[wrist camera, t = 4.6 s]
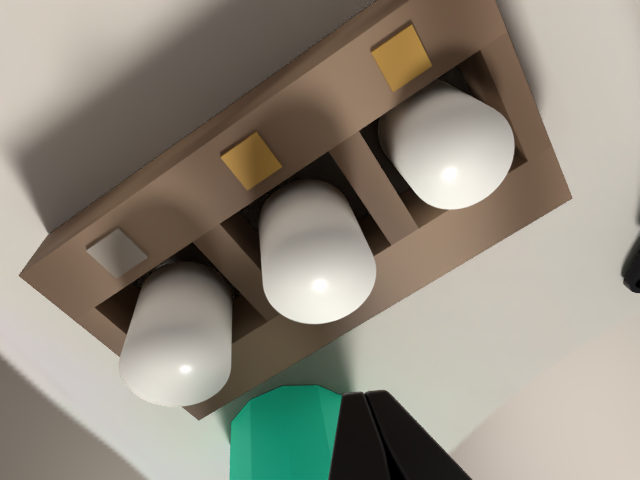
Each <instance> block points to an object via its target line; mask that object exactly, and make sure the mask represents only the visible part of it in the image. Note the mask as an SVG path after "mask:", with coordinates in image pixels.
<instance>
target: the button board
mask: <svg viewBox="0 0 640 480" xmlns="http://www.w3.org/2000/svg"><path fill="white" fill-rule="evenodd" d="M456 65H458V66H459V68H460V70H461V72H462V74H463V77H464V79H465V81H466V83H467V85H468V87H469V90H470V92H471V94H472V96H473V97H474V98H475V99H477V100H479V101H481V102H483V103H484V104H486V105H488V106H490V107H492V108H494V109H495V110H497V111H498V112H499V113H500V114H502V115H503V116H504V117H505V119H506V120H507V121H508V123H509V125H510V127H511V129H512V132H513V136H514V146H515V148H514V156H513V161H512V164H511V166H510V169H509V171H508V173H507V175H506V177H505V178H504V180H503V181H502V182H501V184H500V185H499V186H498V187H497V188H496V189H495V190H494V191H493V192H492V193H491V194H490V195H489V196H487V197H486V198H485V199H483V200H482V201H480V202H478V203H476V204H474V205H471V206H469V207H465V208H461V209H451V210H449V209H441V208H436V207H434V206H431V205H429V204H427V203H426V202H424V201H423V200H422V199H421V198H420V197H419V196H418V195H417V194H416V193H415V192H414V190H413V189H412V188H409V189H408V190H406V191H405V192H403V193H401V194H400V195H398V194H397V192H396V191H395V189H394V187H393V186H392V184H391V183H390V181H389V179H388V178H387V176H386V174H385V173H384V171H383V170H382V168H381V166H380V165H379V163H378V161H377V160H376V158H375V157H374V155H373V153H372V152H371V150H370V149H369V147H368V145H367V144H366V142H365V140H364V139H363V137H362V136H361V134H360V132H359V130H361V129H362V128H364V127H365V126H367V125H368V124H370V123H371V122H373V121H374V120H376V119H377V118H379V117H380V116H382V115H383V114H385V113H386V112H388V111H389V110H391V109H392V108H394V107H395V106H397V105H398V104H400V103H401V102H403V101H404V100H406V99H407V98H409V97H410V96H412V95H413V94H415V93H416V92H418V91H419V90H421V89H422V88H424V87H425V86H427V85H428V84H430V83H431V82H433V81H434V80H436V79H437V78H439V77H440V76H442V75H443V74H445V73H446V72H448V71H449V70H451V69H452V68H454V67H455V66H456ZM328 151H329V153H330V154H331V156H332V157H333V159H334V160H335V162H336V163H337V165H338V166H339V168H340V169H341V171H342V172H343V174H344V175H345V177H346V178H347V180H348V181H349V183H350V184H351V186H352V187H353V189H354V190H355V192H356V193H357V195H358V196H359V198H360V199H361V201H362V202H363V204H364V205H365V207H366V208H367V210H368V211H369V213H370V214H368V215H367V216H365V217H364V218H362V219H360V220H359V221H357V222H358V224H359V226H360V228H361V231H362V233H363V235H364V237H365V239H366V241H367V243H368V246H369V248H370V250H371V252H372V254H373V257H374V259H375V264H376V279H375V283H374V286H373V289H372V291H371V293H370V294H369V296H368V297H367V299H366V300H365V301H364V302H363V304H362V305H361V306H360V307H358V308H357V309H356V310H355V311H353V312H352V313H350V314H349V315H347V316H345V317H343V318H341V319H338V320H336V321H332V322H328V323H322V324H307V323H301V322H297V321H294V320H291V319H289V318H287V317H285V316H283V315H282V314H280V313H279V312H278V311H277V310H275V309H274V308H273V306H272V305H271V304H270V303H269V301H268V299H267V297H266V295H265V292H264V288H263V280H262V266H261V252H260V239H259V233H258V232H257V231H256V230H255V229H254V228H253V226H252V225H251V224H250V223H249V222H248V220H247V219H246V218H245V217H244V216H243V214H242V213H241V212H240V210H241V209H243V208H244V207H246V206H247V205H249V204H250V203H252V202H253V201H255V200H256V199H257V198H259V197H260V196H262V195H263V194H265V193H266V192H268V191H269V190H271V189H272V188H274V187H275V186H277V185H278V184H280V183H281V182H283V181H284V180H286V179H287V178H289V177H290V176H292V175H293V174H295V173H296V172H298V171H299V170H301V169H302V168H304V167H305V166H307V165H308V164H310V163H311V162H313V161H314V160H316V159H317V158H319V157H320V156H322V155H323V154H325V153H326V152H328ZM571 199H572V196H571V193H570V191H569V188H568V185H567V183H566V180H565V178H564V175H563V173H562V170H561V168H560V165H559V162H558V160H557V157H556V155H555V152H554V150H553V147H552V144H551V142H550V139H549V137H548V134H547V132H546V129H545V127H544V124H543V121H542V119H541V116H540V114H539V111H538V109H537V106H536V104H535V101H534V98H533V96H532V93H531V91H530V88H529V86H528V83H527V81H526V78H525V75H524V73H523V70H522V68H521V65H520V63H519V60H518V57H517V55H516V52H515V50H514V47H513V45H512V42H511V40H510V37H509V34H508V32H507V29H506V27H505V24H504V22H503V19H502V17H501V14H500V11H499V9H498V6H497V4H496V1H495V0H377V1H375V2H374V3H373V4H371V5H370V6H368V7H367V8H366V9H364V10H363V11H361V12H360V13H359V14H357V15H356V16H354V17H353V18H352V19H350V20H349V21H347V22H346V23H345V24H343V25H342V26H340V27H339V28H338V29H336V30H335V31H333V32H332V33H330V34H329V35H328V36H326V37H325V38H323V39H322V40H321V41H319V42H318V43H316V44H315V45H314V46H312V47H311V48H309V49H308V50H307V51H305V52H304V53H302V54H301V55H300V56H298V57H297V58H295V59H294V60H293V61H291V62H290V63H288V64H287V65H286V66H284V67H283V68H281V69H280V70H279V71H277V72H276V73H274V74H273V75H272V76H270V77H269V78H267V79H266V80H265V81H263V82H262V83H260V84H259V85H258V86H256V87H255V88H253V89H252V90H251V91H249V92H248V93H246V94H245V95H244V96H242V97H241V98H239V99H238V100H237V101H235V102H234V103H232V104H231V105H230V106H228V107H227V108H225V109H224V110H222V111H221V112H220V113H218V114H217V115H215V116H214V117H213V118H211V119H210V120H208V121H207V122H206V123H204V124H203V125H201V126H200V127H199V128H197V129H196V130H194V131H193V132H192V133H190V134H189V135H187V136H186V137H185V138H183V139H182V140H180V141H179V142H178V143H176V144H175V145H173V146H172V147H171V148H169V149H168V150H166V151H165V152H164V153H162V154H161V155H159V156H158V157H157V158H155V159H154V160H152V161H151V162H150V163H148V164H147V165H145V166H144V167H143V168H141V169H140V170H138V171H137V172H136V173H134V174H133V175H131V176H130V177H129V178H127V179H126V180H124V181H123V182H121V183H120V184H119V185H117V186H116V187H114V188H113V189H112V190H110V191H109V192H107V193H106V194H105V195H103V196H102V197H100V198H99V199H98V200H96V201H95V202H93V203H92V204H91V205H89V206H88V207H86V208H85V209H84V210H82V211H81V212H79V213H78V214H77V215H75V216H74V217H72V218H71V219H70V220H68V221H67V222H65V223H64V224H63V225H61V226H60V227H58V228H57V229H56V230H54V231H53V232H51V233H50V234H49V235H48V236H47V237H46V238H45V240H44V241H43V242H42V244H41V245H40V247H39V248H38V249H37V251H36V252H35V254H34V255H33V256H32V258H31V259H30V260H29V262H28V263H27V265H26V266H25V267H24V269H23V270H22V272H21V273H20V274H19V276H20V277H21V278H22V279H23V280H25V281H26V282H27V283H28V284H30V285H31V286H32V287H33V288H35V289H36V290H37V291H38V292H40V293H41V294H42V295H43V296H45V297H46V298H47V299H48V300H50V301H51V302H52V303H53V304H55V305H56V306H57V307H58V308H59V309H61V310H62V311H63V312H64V313H66V314H67V315H68V316H69V317H71V318H72V319H73V320H74V321H76V322H77V323H78V324H79V325H81V326H82V327H83V328H84V329H86V330H87V331H88V332H89V333H91V334H92V335H93V336H94V337H96V338H97V339H98V340H99V341H101V342H102V343H103V344H104V345H106V346H107V347H108V348H109V349H111V350H112V351H113V352H114V353H115V354H117V355H118V356H119V357H120V355H121V352H122V349H123V346H124V342H125V339H126V336H127V333H128V330H129V326H130V323H131V320H132V317H133V313H134V310H135V307H136V304H137V300H138V297H139V294H140V291H141V290H139V289H138V288H137V287H136V286H135V285H134V284H133V283H132V282H133V281H135V280H136V279H138V278H139V277H141V276H142V275H144V274H145V273H147V272H148V271H150V270H151V269H153V268H154V267H156V266H157V265H159V264H160V263H162V262H163V261H165V260H166V259H168V258H169V257H171V256H172V255H174V254H175V253H177V252H178V251H180V250H181V249H183V248H184V247H186V246H187V245H189V244H190V243H192V242H193V243H194V244H195V245H196V246H197V248H198V249H199V250H200V251H201V252H202V253H203V254H204V255H205V256H206V257H207V258H208V259H209V260H210V261H211V262H212V263H213V264H214V266H215V267H216V268H217V269H218V270H219V271H220V272H221V273H222V274H223V275H224V276H225V277H226V278H227V279H228V280H229V281H230V282H231V284H232V285H233V286H234V287H235V288H236V289H237V290H238V291H239V292H240V293H241V294H242V295H241V296H239V297H237V298H236V299H234V300H233V301H232V347H231V372H230V376H229V378H228V380H227V382H226V384H225V385H224V386H223V388H222V389H221V390H220V391H219V392H218V393H216V394H215V395H214V396H212V397H211V398H209V399H207V400H205V401H203V402H200V403H197V404H194V405H189V406H182V407H183V408H184V409H185V410H186V411H188V412H189V413H190V414H191V415H193V416H194V417H195V418H196V419H198V420H201V419H202V418H204V417H206V416H207V415H209V414H211V413H212V412H214V411H216V410H217V409H219V408H221V407H222V406H224V405H226V404H227V403H229V402H231V401H232V400H234V399H236V398H238V397H239V396H241V395H243V394H244V393H246V392H248V391H249V390H251V389H253V388H254V387H256V386H258V385H259V384H261V383H263V382H264V381H266V380H268V379H270V378H271V377H273V376H275V375H276V374H278V373H280V372H281V371H283V370H285V369H286V368H288V367H290V366H291V365H293V364H295V363H296V362H298V361H300V360H301V359H303V358H305V357H307V356H308V355H310V354H312V353H313V352H315V351H317V350H318V349H320V348H322V347H323V346H325V345H327V344H328V343H330V342H332V341H333V340H335V339H337V338H338V337H340V336H342V335H344V334H345V333H347V332H349V331H350V330H352V329H354V328H355V327H357V326H359V325H360V324H362V323H364V322H365V321H367V320H369V319H370V318H372V317H374V316H375V315H377V314H379V313H381V312H382V311H384V310H386V309H387V308H389V307H391V306H392V305H394V304H396V303H397V302H399V301H401V300H402V299H404V298H406V297H407V296H409V295H411V294H412V293H414V292H416V291H418V290H419V289H421V288H423V287H424V286H426V285H428V284H429V283H431V282H433V281H434V280H436V279H438V278H439V277H441V276H443V275H444V274H446V273H448V272H449V271H451V270H453V269H455V268H456V267H458V266H460V265H461V264H463V263H465V262H466V261H468V260H470V259H471V258H473V257H475V256H476V255H478V254H480V253H481V252H483V251H485V250H486V249H488V248H490V247H492V246H493V245H495V244H497V243H498V242H500V241H502V240H503V239H505V238H507V237H508V236H510V235H512V234H513V233H515V232H517V231H518V230H520V229H522V228H524V227H525V226H527V225H529V224H530V223H532V222H534V221H535V220H537V219H539V218H540V217H542V216H544V215H545V214H547V213H549V212H550V211H552V210H554V209H555V208H557V207H559V206H561V205H562V204H564V203H566V202H567V201H569V200H571Z"/></svg>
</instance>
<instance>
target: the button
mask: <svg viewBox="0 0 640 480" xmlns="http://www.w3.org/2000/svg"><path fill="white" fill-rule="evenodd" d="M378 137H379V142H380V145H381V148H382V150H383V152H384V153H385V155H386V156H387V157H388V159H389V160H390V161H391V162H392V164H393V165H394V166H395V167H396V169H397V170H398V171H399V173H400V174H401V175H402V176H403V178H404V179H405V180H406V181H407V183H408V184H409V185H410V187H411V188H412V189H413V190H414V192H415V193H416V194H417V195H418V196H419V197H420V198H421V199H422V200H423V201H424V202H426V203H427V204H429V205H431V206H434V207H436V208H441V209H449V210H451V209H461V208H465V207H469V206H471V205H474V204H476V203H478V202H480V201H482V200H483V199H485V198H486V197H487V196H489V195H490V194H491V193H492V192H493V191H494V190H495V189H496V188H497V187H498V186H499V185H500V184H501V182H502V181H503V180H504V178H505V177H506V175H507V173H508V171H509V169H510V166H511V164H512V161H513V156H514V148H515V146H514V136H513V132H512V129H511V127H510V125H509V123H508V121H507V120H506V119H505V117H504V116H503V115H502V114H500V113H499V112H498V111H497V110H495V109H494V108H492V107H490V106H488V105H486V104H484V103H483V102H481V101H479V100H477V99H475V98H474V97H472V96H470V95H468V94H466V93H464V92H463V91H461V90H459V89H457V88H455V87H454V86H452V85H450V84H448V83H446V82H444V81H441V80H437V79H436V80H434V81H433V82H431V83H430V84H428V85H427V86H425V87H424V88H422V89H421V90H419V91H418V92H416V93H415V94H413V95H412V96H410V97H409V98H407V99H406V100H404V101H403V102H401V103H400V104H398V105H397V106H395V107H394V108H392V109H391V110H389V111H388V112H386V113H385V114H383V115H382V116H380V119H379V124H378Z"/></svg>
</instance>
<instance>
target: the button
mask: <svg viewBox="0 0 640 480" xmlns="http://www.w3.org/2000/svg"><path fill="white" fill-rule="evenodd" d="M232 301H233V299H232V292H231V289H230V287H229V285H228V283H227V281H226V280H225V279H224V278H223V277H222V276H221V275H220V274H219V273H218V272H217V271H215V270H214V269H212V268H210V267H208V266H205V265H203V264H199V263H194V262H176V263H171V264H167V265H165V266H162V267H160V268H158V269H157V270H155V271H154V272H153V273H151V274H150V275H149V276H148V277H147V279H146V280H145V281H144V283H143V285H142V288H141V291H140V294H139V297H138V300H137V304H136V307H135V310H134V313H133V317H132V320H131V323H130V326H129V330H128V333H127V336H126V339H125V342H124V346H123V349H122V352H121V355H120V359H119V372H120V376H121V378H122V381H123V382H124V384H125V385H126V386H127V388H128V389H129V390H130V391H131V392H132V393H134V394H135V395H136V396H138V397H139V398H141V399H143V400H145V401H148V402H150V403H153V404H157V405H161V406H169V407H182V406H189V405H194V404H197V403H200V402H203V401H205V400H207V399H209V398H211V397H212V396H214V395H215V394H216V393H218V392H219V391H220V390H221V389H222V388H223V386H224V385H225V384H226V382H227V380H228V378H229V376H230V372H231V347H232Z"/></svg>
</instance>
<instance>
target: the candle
mask: <svg viewBox="0 0 640 480" xmlns="http://www.w3.org/2000/svg"><path fill="white" fill-rule="evenodd" d="M341 397H342V396H341V395H339V394H337V393H334V392H332V391H330V390H327V389H325V388H323V387H321V386H318V385H303V386H281V387H279V388H276V389H274V390H272V391H269V392H267V393H265V394H262V395H260V396H258V397H256V398H253V399H251V400H250V401H249V402H248V403H247V404H246V405H245V406H244V408H243V409H242V410H241V411H240V412H239V414H238V415H237V416H236V417H235V418H234V419H233V421H232V422H231V441H230V480H328V477H329V471H330V465H331V458H332V452H333V446H334V440H335V434H336V428H337V422H338V416H339V409H340V403H341Z"/></svg>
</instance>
